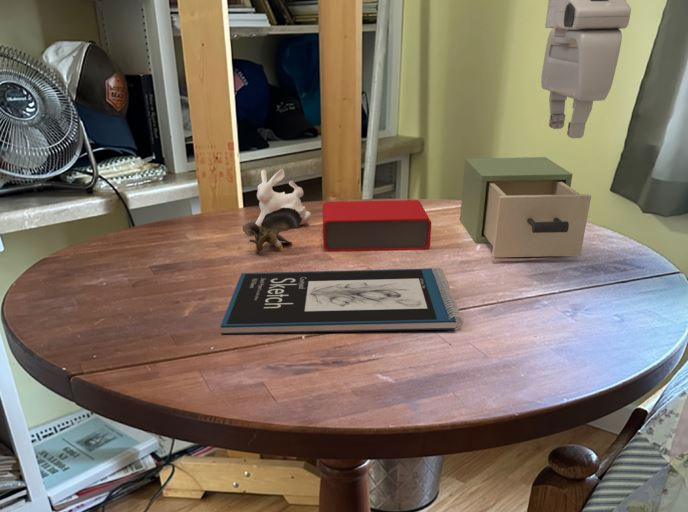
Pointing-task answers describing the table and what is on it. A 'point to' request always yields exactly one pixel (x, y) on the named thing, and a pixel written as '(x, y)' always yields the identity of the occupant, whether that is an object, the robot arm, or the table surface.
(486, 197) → the drawer
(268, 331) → the sketchbook
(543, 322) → the table surface
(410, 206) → the red device housing
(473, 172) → the cabinet
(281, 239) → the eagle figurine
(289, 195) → the rabbit figurine
